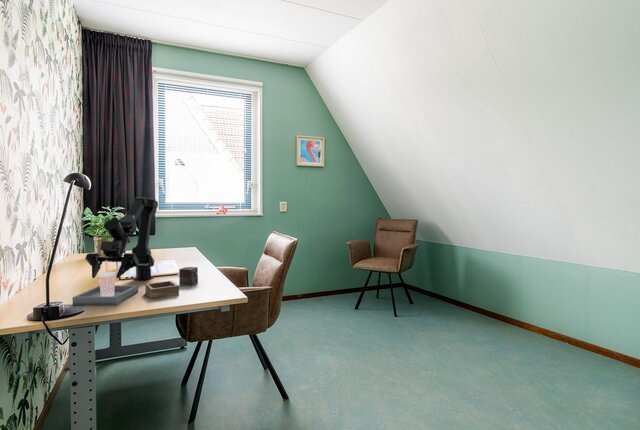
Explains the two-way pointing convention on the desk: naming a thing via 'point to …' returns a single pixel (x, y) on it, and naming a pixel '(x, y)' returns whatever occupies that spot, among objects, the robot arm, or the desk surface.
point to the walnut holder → (161, 289)
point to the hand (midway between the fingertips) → (105, 277)
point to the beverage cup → (107, 283)
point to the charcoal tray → (95, 297)
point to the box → (188, 276)
